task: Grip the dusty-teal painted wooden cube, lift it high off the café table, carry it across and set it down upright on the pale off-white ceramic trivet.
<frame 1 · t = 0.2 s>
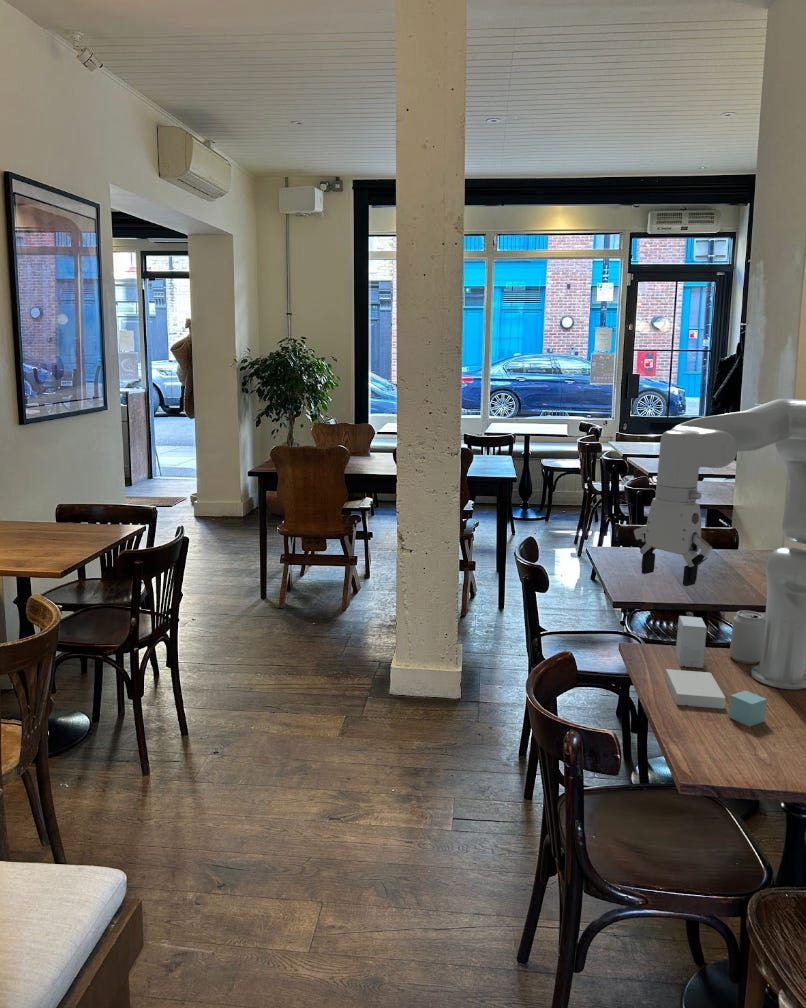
hand: (667, 578, 162), 31 cm above the table, tool pointing down, fingers open, 9 cm apart
trivet: (693, 693, 183), on the table
small box: (688, 662, 201), on the table
teal cube: (746, 719, 171), on the table
can: (744, 660, 204), on the table
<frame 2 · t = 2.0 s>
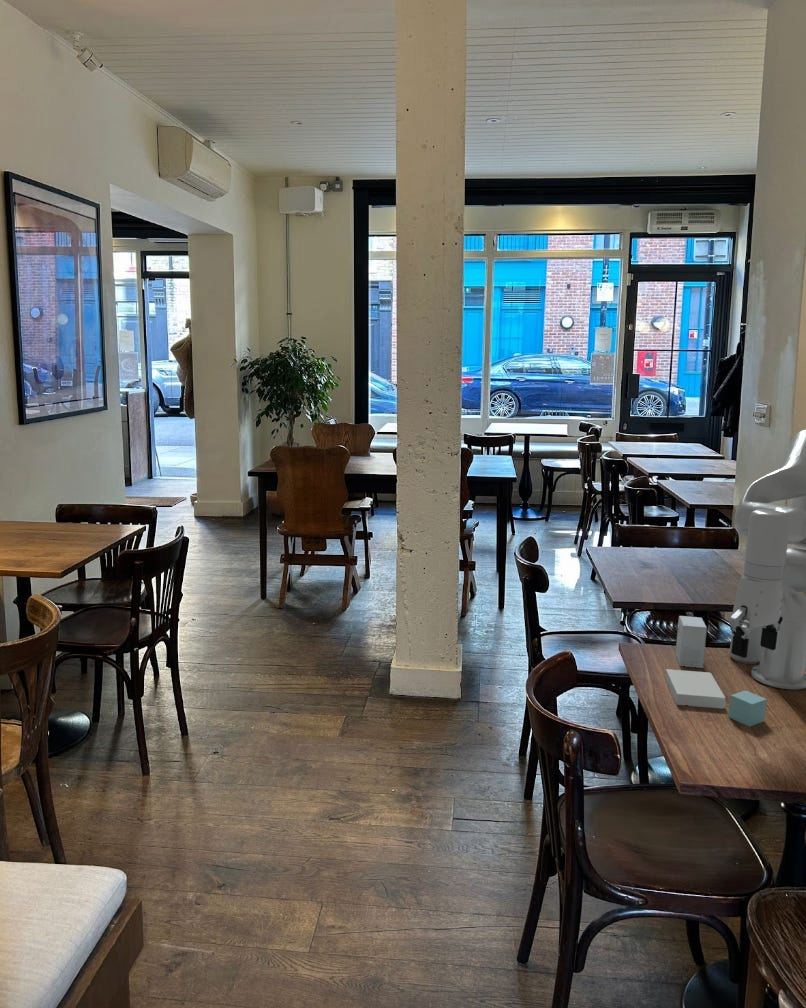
hand: (753, 651, 167), 15 cm above the table, tool pointing down, fingers open, 9 cm apart
nothing on the table moved.
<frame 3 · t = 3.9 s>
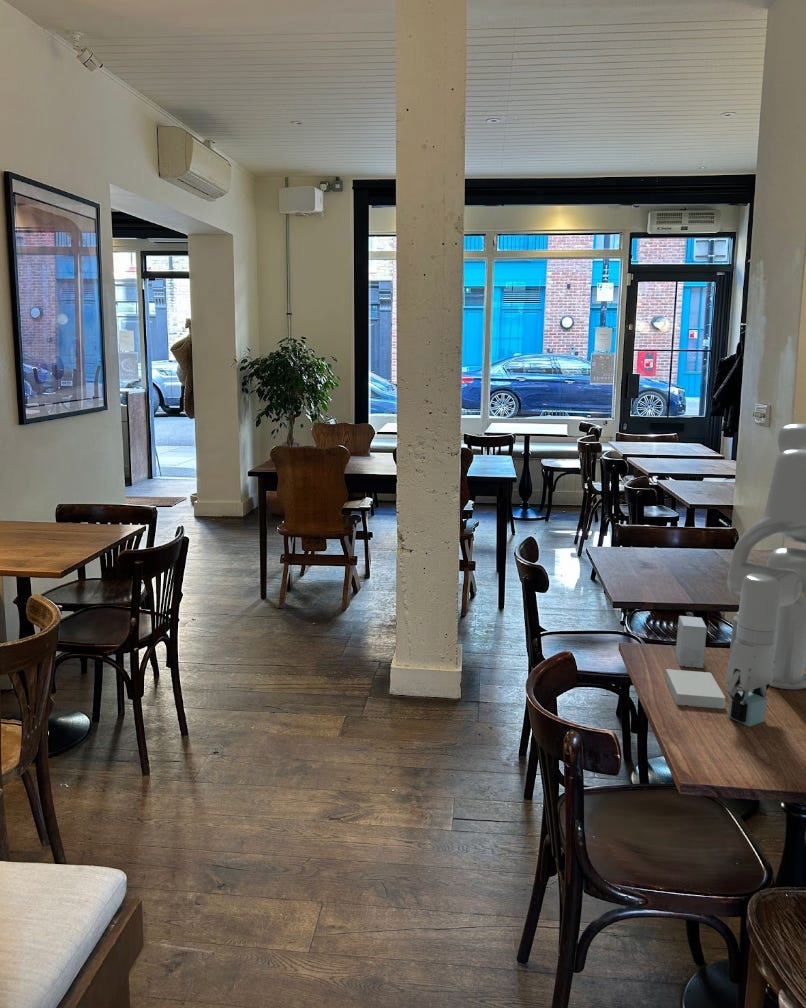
hand: (746, 715, 170), 1 cm above the table, tool pointing down, fingers closed on teal cube, 5 cm apart
teal cube: (746, 719, 171), on the table, touching gripper
everything else where it was.
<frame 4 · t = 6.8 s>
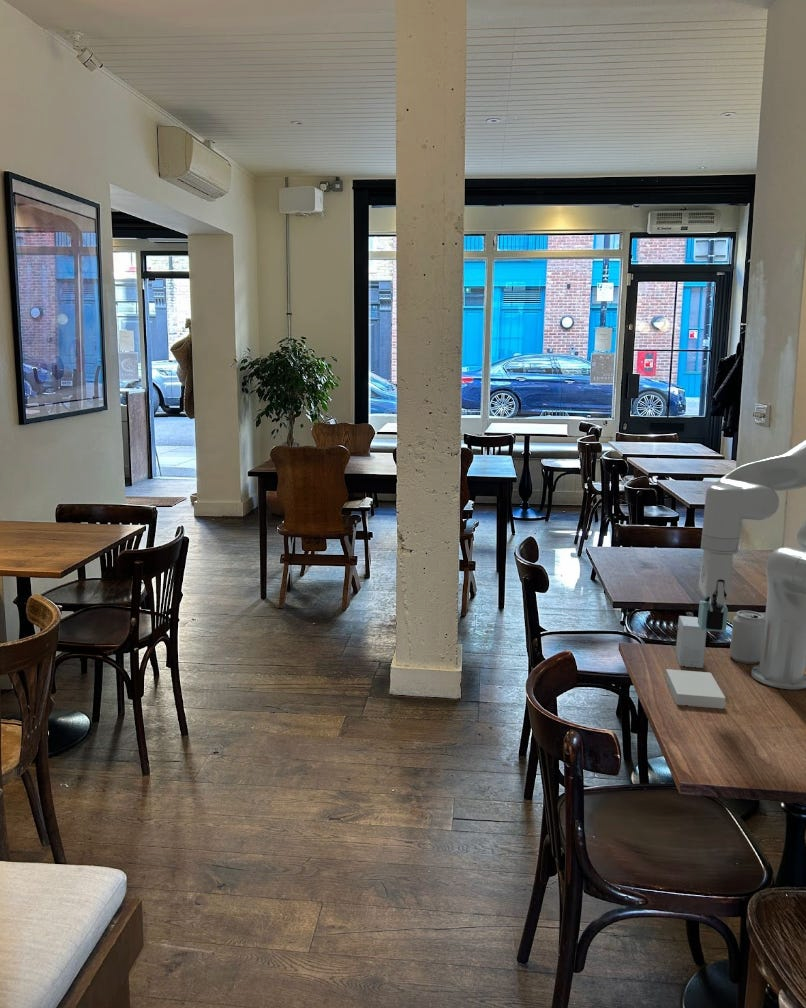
hand: (711, 623, 177), 17 cm above the table, tool pointing down, fingers closed on teal cube, 5 cm apart
teal cube: (711, 627, 177), point 17 cm above the table, touching gripper
everything else where it was.
when the fingers open (5 cm above the table, at t = 9.9 s): teal cube drops 1 cm, resting on trivet.
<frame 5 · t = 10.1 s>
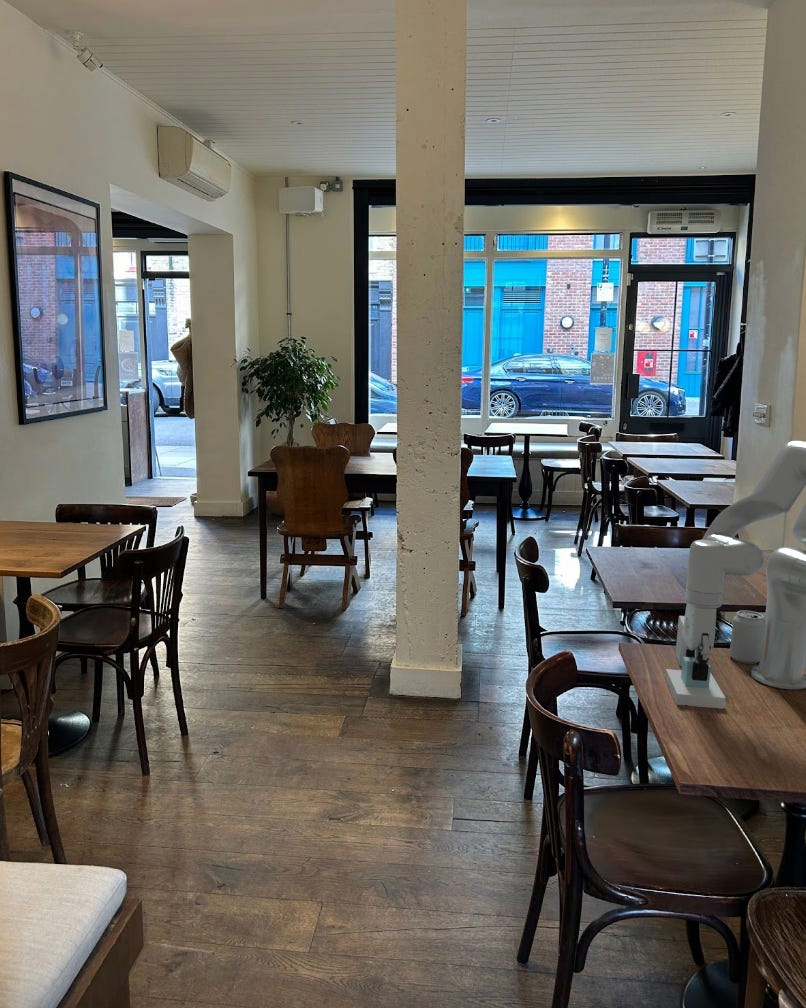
hand: (695, 672, 182), 5 cm above the table, tool pointing down, fingers open, 7 cm apart
teal cube: (694, 682, 182), point 2 cm above the table, touching trivet
everything else where it was.
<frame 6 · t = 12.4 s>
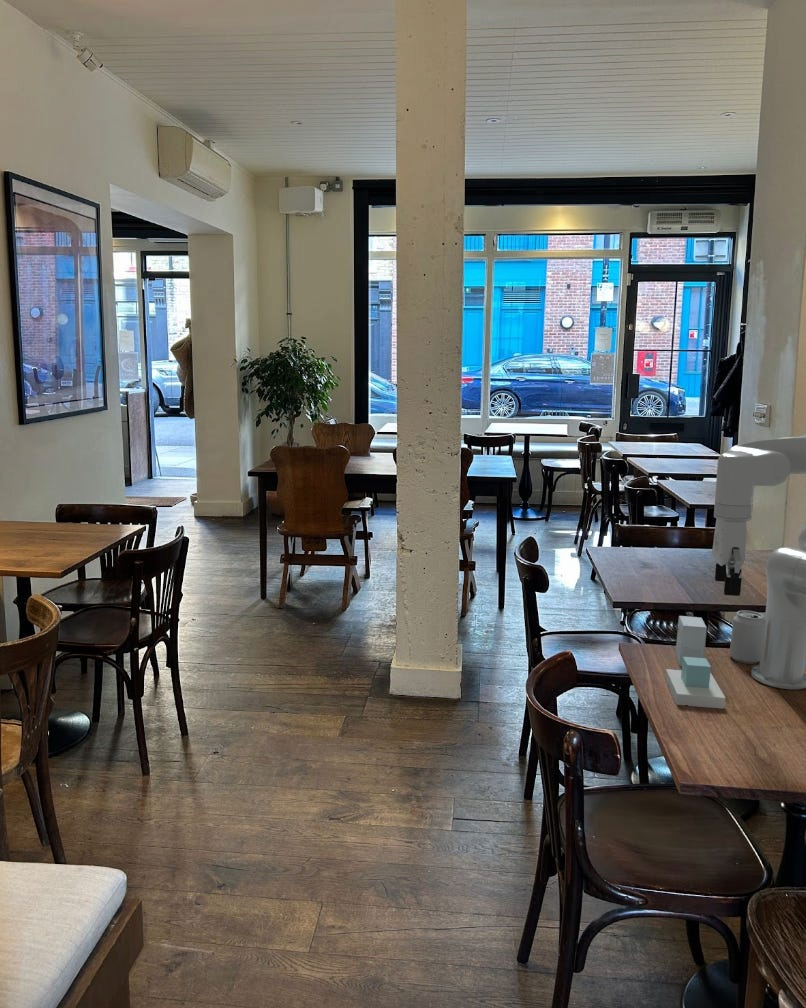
hand: (727, 587, 177), 25 cm above the table, tool pointing down, fingers open, 9 cm apart
nothing on the table moved.
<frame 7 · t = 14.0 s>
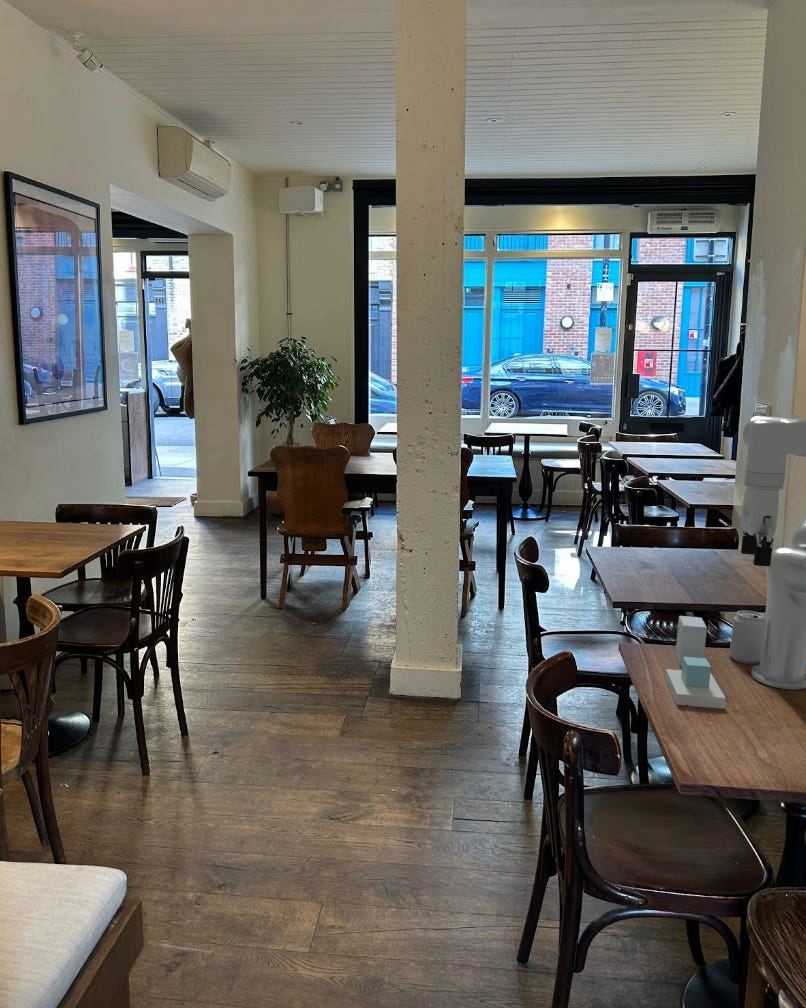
hand: (755, 559, 173), 32 cm above the table, tool pointing down, fingers open, 9 cm apart
nothing on the table moved.
at the end: teal cube inside the target area on the trivet (0.1 cm from its centre), point 2.5 cm above the trivet's base; teal cube tilted 0°; the gripper is holding nothing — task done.
